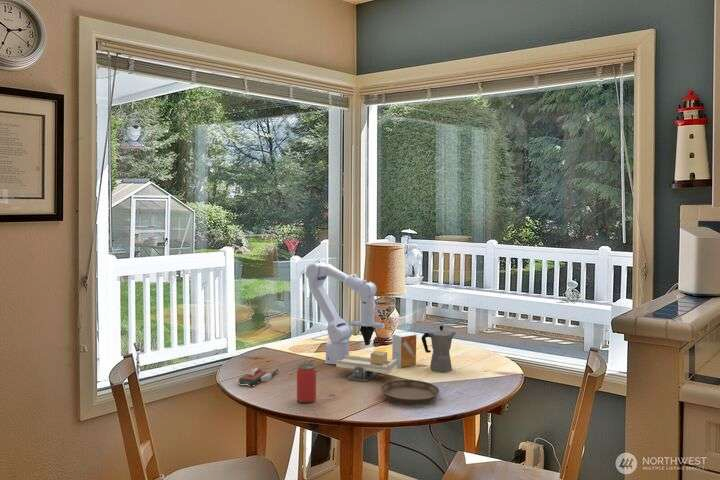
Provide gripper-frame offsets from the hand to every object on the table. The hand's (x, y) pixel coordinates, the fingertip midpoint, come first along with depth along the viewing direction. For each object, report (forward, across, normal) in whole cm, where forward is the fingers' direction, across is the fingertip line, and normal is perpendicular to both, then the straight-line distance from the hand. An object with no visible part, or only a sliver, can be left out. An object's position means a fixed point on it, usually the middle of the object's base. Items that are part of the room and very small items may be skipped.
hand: (367, 344), depth 247 cm
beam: (+6, +3, -11) cm, 13 cm away
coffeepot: (+10, +28, +8) cm, 31 cm away
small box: (+10, +13, +9) cm, 18 cm away
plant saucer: (+10, +27, -28) cm, 40 cm away
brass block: (+5, +9, -11) cm, 15 cm away
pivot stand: (+9, +3, -11) cm, 15 cm away
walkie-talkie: (+10, -33, -30) cm, 46 cm away
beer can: (+10, -5, -45) cm, 46 cm away
